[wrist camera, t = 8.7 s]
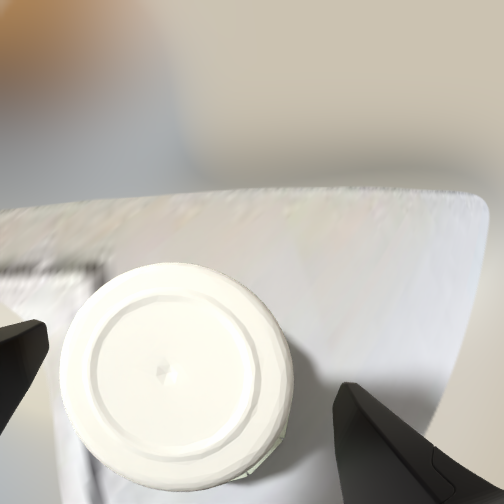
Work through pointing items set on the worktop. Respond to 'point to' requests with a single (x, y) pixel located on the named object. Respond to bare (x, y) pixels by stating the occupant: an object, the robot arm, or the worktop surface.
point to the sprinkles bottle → (176, 377)
